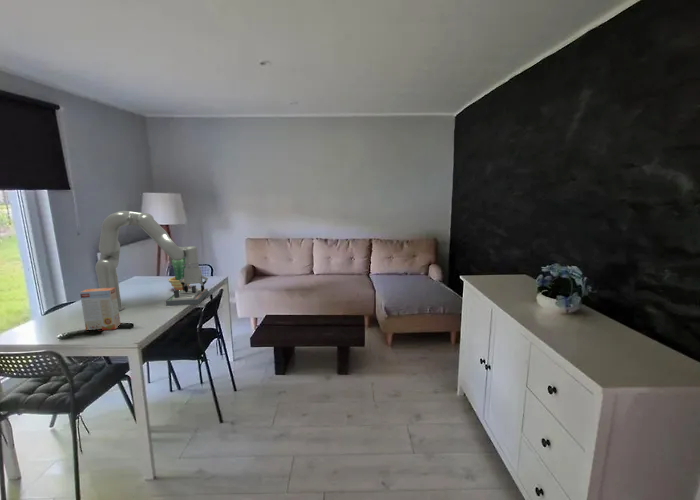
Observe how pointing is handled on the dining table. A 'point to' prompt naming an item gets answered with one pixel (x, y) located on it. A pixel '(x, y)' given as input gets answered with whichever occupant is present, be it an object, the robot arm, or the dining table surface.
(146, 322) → the dining table surface
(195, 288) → the breaker handle
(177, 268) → the potted cactus
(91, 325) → the cracker box
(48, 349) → the dining table surface
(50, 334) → the dining table surface
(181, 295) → the breaker panel
